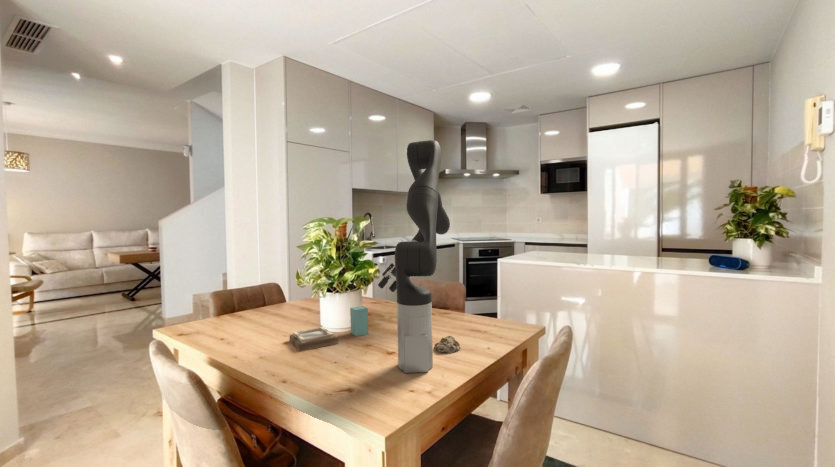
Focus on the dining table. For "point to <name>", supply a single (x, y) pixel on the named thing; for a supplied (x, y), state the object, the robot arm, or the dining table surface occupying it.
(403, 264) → the robot arm
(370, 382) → the dining table surface
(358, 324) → the teal block
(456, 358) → the dining table surface
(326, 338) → the block
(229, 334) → the dining table surface
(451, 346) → the mineral rock
